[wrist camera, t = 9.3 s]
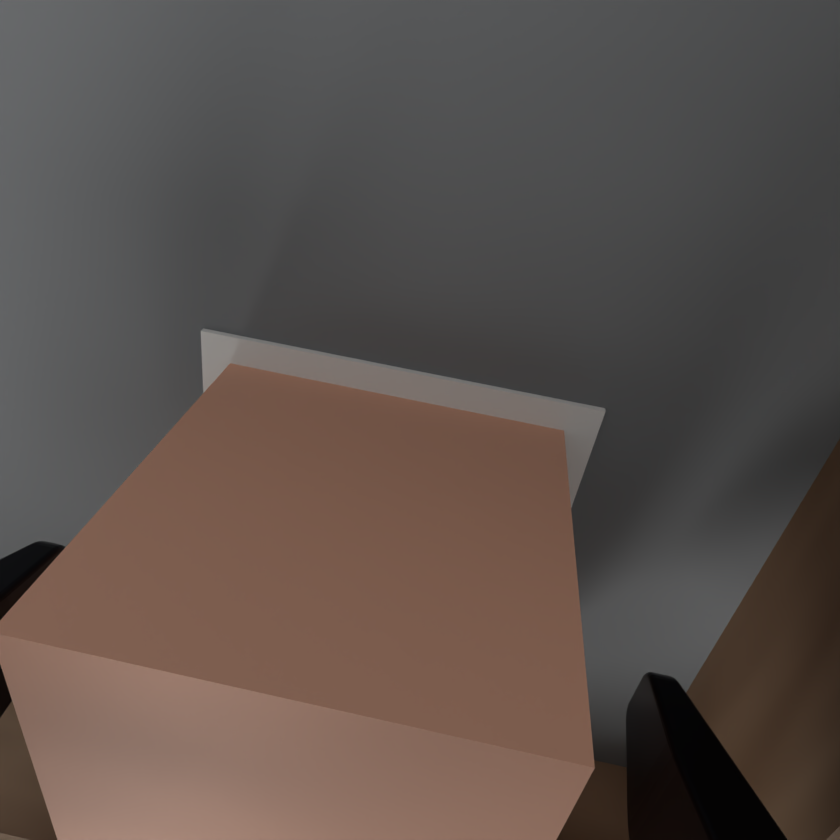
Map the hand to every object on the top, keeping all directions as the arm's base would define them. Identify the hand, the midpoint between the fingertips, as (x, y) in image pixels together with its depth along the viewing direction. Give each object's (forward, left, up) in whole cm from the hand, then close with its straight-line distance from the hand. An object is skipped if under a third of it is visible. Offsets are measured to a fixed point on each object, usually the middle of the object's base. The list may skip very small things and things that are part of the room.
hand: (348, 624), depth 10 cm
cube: (0, 0, -2) cm, 2 cm away
